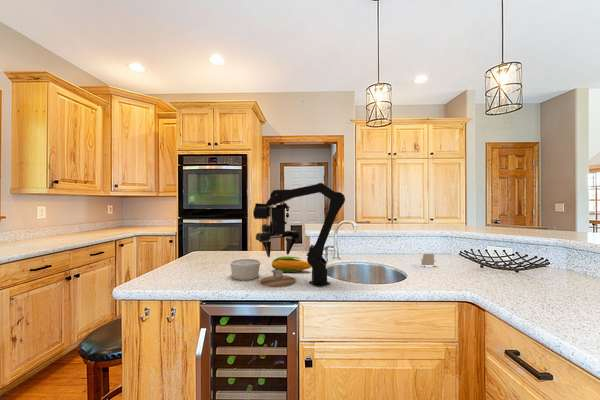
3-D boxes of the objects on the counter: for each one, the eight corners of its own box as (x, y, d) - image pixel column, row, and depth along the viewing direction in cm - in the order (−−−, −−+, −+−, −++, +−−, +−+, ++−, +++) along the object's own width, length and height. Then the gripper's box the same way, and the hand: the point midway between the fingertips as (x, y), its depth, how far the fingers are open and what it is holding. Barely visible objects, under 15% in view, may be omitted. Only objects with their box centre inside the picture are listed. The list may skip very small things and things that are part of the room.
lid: (302, 283, 112) (302, 272, 112) (270, 290, 104) (270, 277, 104) (284, 275, 125) (284, 265, 125) (254, 280, 116) (254, 269, 116)
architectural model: (420, 266, 143) (420, 252, 143) (433, 266, 143) (433, 252, 143) (422, 268, 140) (422, 253, 140) (436, 268, 139) (436, 254, 139)
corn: (273, 253, 135) (313, 255, 132) (273, 268, 136) (313, 270, 133) (269, 257, 128) (311, 259, 125) (270, 273, 128) (311, 275, 125)
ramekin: (263, 273, 127) (263, 258, 127) (256, 282, 114) (256, 265, 114) (236, 272, 128) (236, 258, 128) (225, 280, 115) (225, 264, 115)
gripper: (287, 217, 126) (287, 250, 126) (250, 219, 116) (250, 255, 116) (300, 218, 117) (300, 254, 117) (261, 220, 107) (261, 259, 107)
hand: (278, 255), depth 114 cm, fingers open, 9 cm apart
